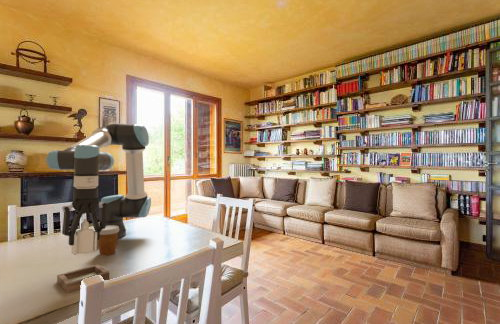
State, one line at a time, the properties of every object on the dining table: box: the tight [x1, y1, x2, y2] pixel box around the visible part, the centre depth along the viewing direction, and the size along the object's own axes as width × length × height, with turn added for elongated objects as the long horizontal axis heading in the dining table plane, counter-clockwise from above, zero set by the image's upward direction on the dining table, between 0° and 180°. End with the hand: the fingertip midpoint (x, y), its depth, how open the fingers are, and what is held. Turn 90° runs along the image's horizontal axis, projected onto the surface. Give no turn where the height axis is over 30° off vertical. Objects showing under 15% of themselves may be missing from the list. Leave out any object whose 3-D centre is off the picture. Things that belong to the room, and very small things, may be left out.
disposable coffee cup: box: [97, 225, 120, 256], centre depth 118 cm, size 10×10×12 cm
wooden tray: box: [56, 263, 111, 293], centre depth 91 cm, size 11×13×2 cm
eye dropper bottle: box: [75, 218, 95, 255], centre depth 91 cm, size 4×6×12 cm
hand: (84, 251), depth 91 cm, fingers closed on eye dropper bottle, 6 cm apart
